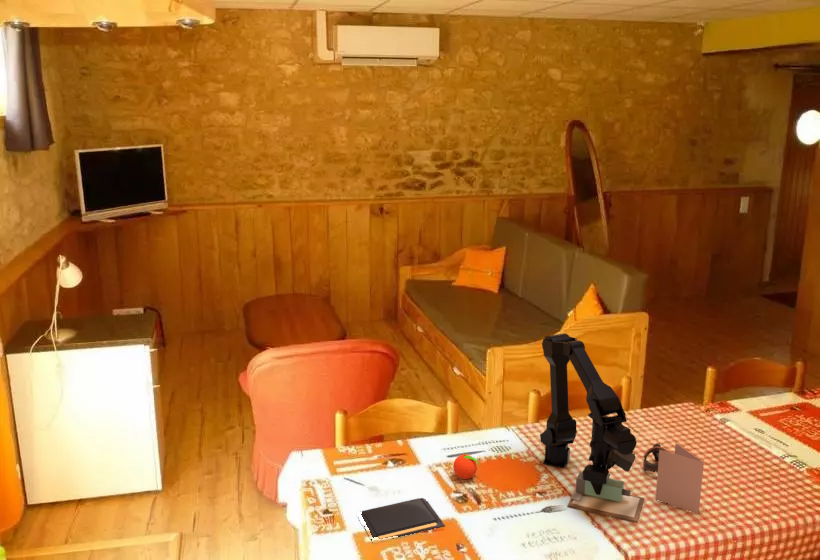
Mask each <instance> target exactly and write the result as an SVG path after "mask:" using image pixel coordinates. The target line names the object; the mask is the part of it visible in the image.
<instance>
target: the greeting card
mask: <svg viewBox="0 0 820 560" xmlns="http://www.w3.org/2000/svg"><path fill="white" fill-rule="evenodd" d="M669 452H670V451H669ZM669 452H666V451H663V450H659V462H657V463H658V472H657V475H656V476H657V477H656V487H655V489H656V490H655V501H657V500H659V501H658V502H660V501H662V502H661V503H663V502H665V503H664V504H666V503H668V504H667V505H669V504H670V505H669V506H672V505H673V506H672V507H675V506H676V507H675V508H678V507H679V508H678V509H681V508H682V510H684V509H685V510H684V511H687V510H688V511H687V512H690V511H691V512H690V513H693V512H694V513H693V514H696V513H697V514H696V515H699V514H700V505H701V494H702V487H703V486H702V485H703V475H704V464H705V463H704V461H703V460H701V459H699V458H698V457H697V456H695V455H694V454H692V453H691V452H689V451H688V450H687V449H685V448H684V447H683V446H682V445H680V444H678V443H677V442H675V446H674V453H673V452H671V453H669Z"/></svg>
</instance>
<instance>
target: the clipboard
mask: <svg viewBox="0 0 820 560" xmlns="http://www.w3.org/2000/svg"><path fill="white" fill-rule="evenodd" d="M643 501H645V497H642V496H637V495H633V494H630V497H629V496H625V495H623V497H622V500H621V502H618V501H613V500H609V499H604V498H600V497H595V496H591V495H586V494H581V493H577V492H576V487H575V488H574V490H573V492H572V494H571V496H570V499H569V501H568V503H567V508H571V509H574V510H579V511H583V512H588V513H592V514H597V515H600V514H601V515H600V516H605V515H606V517H609V516H611V517H610V518H613V517H615V518H614V519H618V518H619V519H618V520H622V521H623V520H624V521H626V520H627V522H631V523H635V522H636V523H635V524H638V523H639V522H638V521H639V519H640V514H641V512H640V511H642V508H643V504H644V502H643Z"/></svg>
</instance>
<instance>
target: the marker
mask: <svg viewBox="0 0 820 560" xmlns="http://www.w3.org/2000/svg"><path fill="white" fill-rule="evenodd" d="M582 473H583V471H579V473H578V474H577V477H576V479H575V488H576V492H577V493H581V494H586V495H591V496H595V497H600V498H604V499H609V500H613V501H618V502H621V500H622V497H623V495H625V496H629V497H630V495H632V494H631V492H632V491H631V490H630V489H625V481H624V480H619V479H612V478H609V479H608V481H607V483H606V484H603V486H602V490H601V493H600V495H597V494H596V493H595V491H594V489H593V486H592V484H591V482H590V481H586V480H583V479H582Z"/></svg>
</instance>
